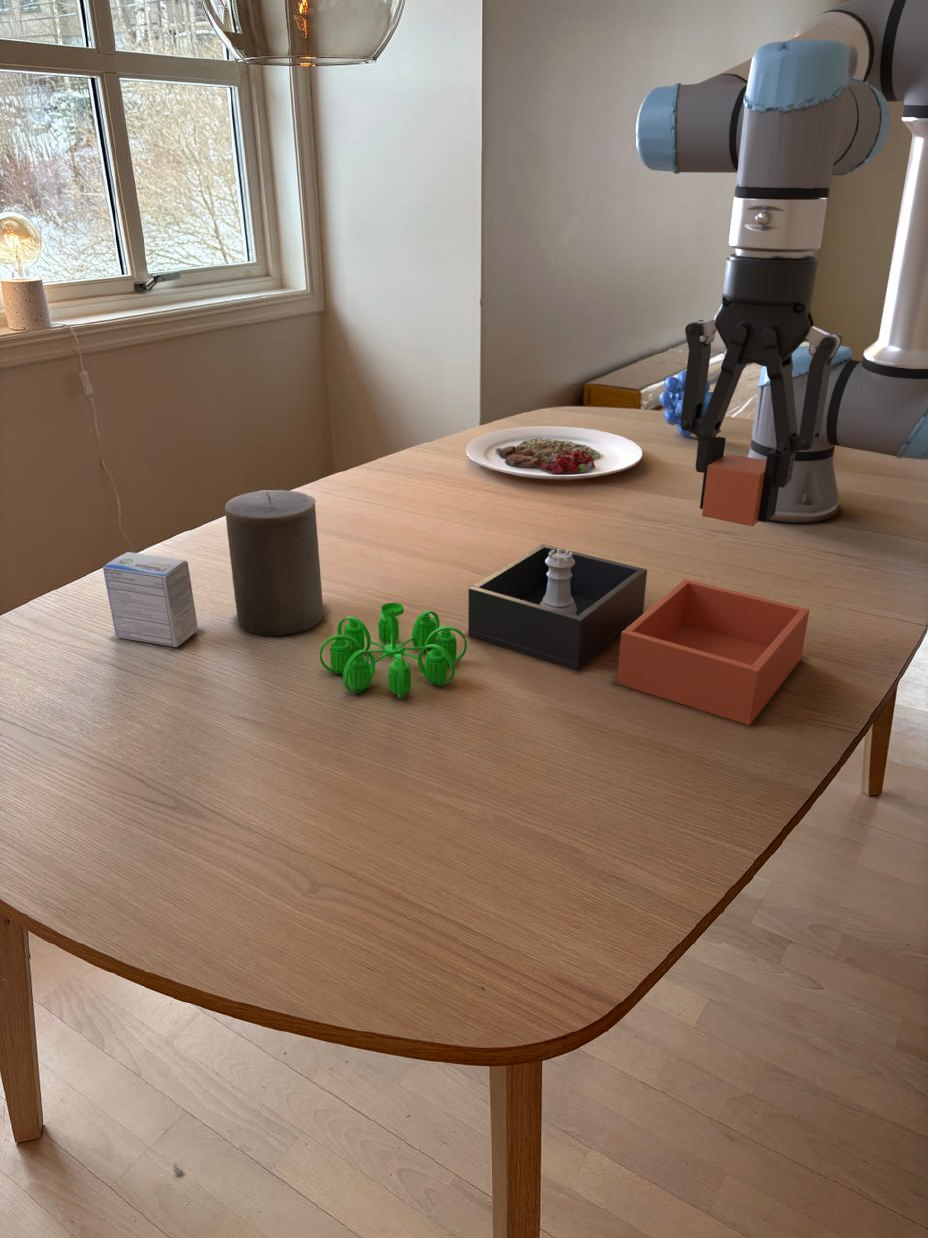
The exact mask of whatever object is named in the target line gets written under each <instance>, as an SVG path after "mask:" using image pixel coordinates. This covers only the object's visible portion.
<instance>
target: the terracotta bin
mask: <svg viewBox="0 0 928 1238" xmlns="http://www.w3.org/2000/svg"><path fill="white" fill-rule="evenodd" d="M810 612H811V611H810V609H809V608H806V607H805V608H804V607H801V606H796V605H793V604H789V603H785V602H781V601H776V600H772V599H769V598H765V597H761V596H757V595H752V594H748V593H744V592H741V591H735V590H732V589H728V588H723V587H719V586H715V585H711V584H707V583H703V582H700V581H695V580H691V579H687V578H684V579H683V580H682V581H680V582H679V583H678V584H677V585H676V586H674V587H673V588H672V589H671V590H670V591H668V592H667V593H666V594H665V595H664V596H663V597H661V598H660V599H659V600H657V602H655V603H654V604H653V605H652V606H650V607H649V608H647V610H646V611H645V612H643V614H642V615H641V616H640V617H639V618H638V619H637V620H635V621H634V622H633V623H632V624H631V625H629V626H628V627H627V628H626V629H625V630H623V631H622V632H621V635H620V644H619V655H618V669H617V670H618V671H617V679H616V680H617V681H616V684H617V685H621V686H623V687H627V688H630V689H633V690H636V691H638V692H642V693H646V694H649V695H652V696H655V697H658V698H662V699H665V700H667V701H671V702H674V703H676V704H681V705H683V706H687V707H689V708H693V709H696V710H699V711H703V712H706V713H709V714H712V715H715V716H717V717H722V718H725V719H729V720H731V721H734V722H737V723H740V724H743V725H746V726H750V725H752V723H753V722H754V720H755V719H756V718H757V717H758V715H759V714H760V713H761V711H762V710H763V709H764V707H766V705H767V704H768V702H770V700H771V699H772V697H773V696H774V694H775V693H776V692H777V690H778V689H779V688H780V687H781V685H782V684H783V683H784V682H785V680H786V679H787V678H788V676H789V675H790V673H791V672H792V671H793V670H794V668H795V667H796V666H797V664H798V663H799V662H800V661H801V659H802V655H803V649H804V644H805V638H806V632H807V626H808V621H809V617H810Z"/></svg>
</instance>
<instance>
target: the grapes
mask: <svg viewBox="0 0 928 1238" xmlns="http://www.w3.org/2000/svg"><path fill="white" fill-rule="evenodd" d="M686 371H687V369H684V370H681V371H680V372H679V373H678V376H677V377H676V376H672V375H670V376H667V377H666V378H665V379H664V384H663V385H664V388H665V390H664V391H661V392H660V394H659V395H658V402H659V404H660V405H661V407H663V408H665V409H666V410H665V411H664V413H663V418H664V420H665V422H666V423H667V424H668V425H671V426H676V425H677V426H676V428H677V429H676V430H677V432H678V434H680V435H681V436H683V437H690V436H691V435H692V434H693V433H691V432H689V431H684V430H682V429H681V427H680V421H681V413H682V405H683V396H684V388H685V380H686ZM710 389H711V383H710V381H709V380H708V379H707V385H706V393H705V401H704V408H703V416H702V419H703V417H704V414H705V412H706V409H707V406H708V404H709V401H710V398H711V396H712V393H713V391H710Z"/></svg>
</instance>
